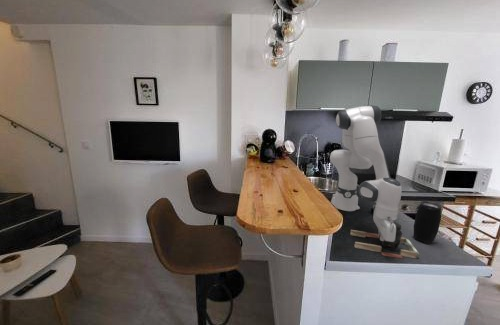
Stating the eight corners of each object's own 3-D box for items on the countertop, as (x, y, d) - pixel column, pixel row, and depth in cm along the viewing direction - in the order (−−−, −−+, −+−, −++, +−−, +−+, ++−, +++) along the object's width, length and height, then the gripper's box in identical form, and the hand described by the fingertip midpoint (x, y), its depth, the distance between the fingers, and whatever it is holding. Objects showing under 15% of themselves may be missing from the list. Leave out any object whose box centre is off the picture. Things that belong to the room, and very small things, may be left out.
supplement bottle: (383, 240, 105) (388, 219, 102) (399, 247, 100) (405, 224, 97) (379, 246, 100) (385, 223, 97) (396, 253, 95) (402, 229, 93)
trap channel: (349, 230, 114) (349, 226, 114) (403, 238, 107) (404, 234, 107) (355, 250, 97) (356, 245, 97) (420, 262, 90) (422, 257, 90)
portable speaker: (408, 233, 112) (415, 199, 108) (429, 237, 109) (437, 202, 105) (415, 242, 104) (423, 206, 100) (438, 246, 101) (447, 209, 97)
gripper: (402, 224, 87) (396, 253, 90) (386, 205, 106) (382, 229, 109) (385, 222, 89) (380, 251, 92) (372, 203, 108) (368, 227, 111)
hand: (381, 239), depth 101 cm, fingers closed
